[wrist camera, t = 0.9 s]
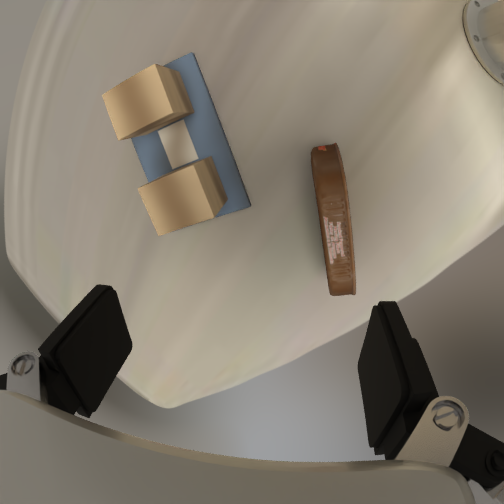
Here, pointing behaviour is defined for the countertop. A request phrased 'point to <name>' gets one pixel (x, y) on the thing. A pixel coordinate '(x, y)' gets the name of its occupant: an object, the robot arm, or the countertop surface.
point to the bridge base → (177, 145)
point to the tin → (334, 219)
